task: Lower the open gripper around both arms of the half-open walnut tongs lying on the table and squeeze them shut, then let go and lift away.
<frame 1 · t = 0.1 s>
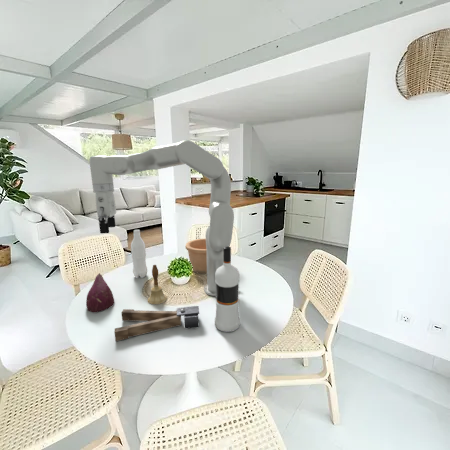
hand: (108, 230, 104), 31 cm above the table, tool pointing down, fingers open, 9 cm apart
hinge block: (183, 322, 94), on the table
hand bell: (157, 299, 110), on the table
vodka: (227, 325, 92), on the table
tong arm 1: (149, 327, 88), point 2 cm above the table, hinge at 12.0°
water bottle: (140, 276, 133), on the table
tong arm 2: (151, 315, 95), point 2 cm above the table, hinge at -12.0°
vegetable: (100, 306, 106), on the table
pottery: (205, 268, 144), on the table
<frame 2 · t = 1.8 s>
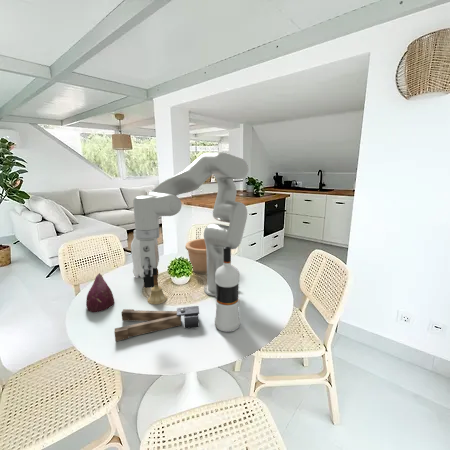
hand: (151, 280, 88), 18 cm above the table, tool pointing down, fingers open, 9 cm apart
nothing on the table moved.
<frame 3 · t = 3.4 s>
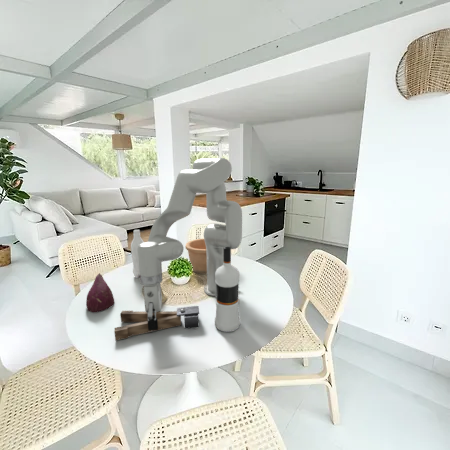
hand: (154, 322, 91), 2 cm above the table, tool pointing down, fingers open, 7 cm apart
tong arm 1: (149, 326, 88), point 2 cm above the table, hinge at 10.9°, touching gripper
tong arm 2: (151, 316, 94), point 2 cm above the table, hinge at -9.6°, touching gripper
everything else where it was.
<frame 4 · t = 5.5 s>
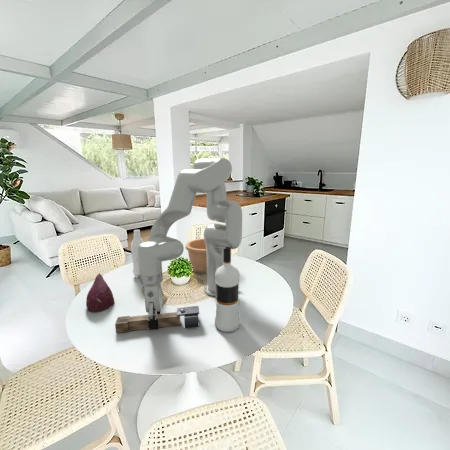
hand: (154, 321, 92), 2 cm above the table, tool pointing down, fingers open, 7 cm apart
tong arm 1: (148, 323, 90), point 2 cm above the table, hinge at 0.3°
tong arm 2: (149, 319, 92), point 2 cm above the table, hinge at 0.4°
everything else where it was.
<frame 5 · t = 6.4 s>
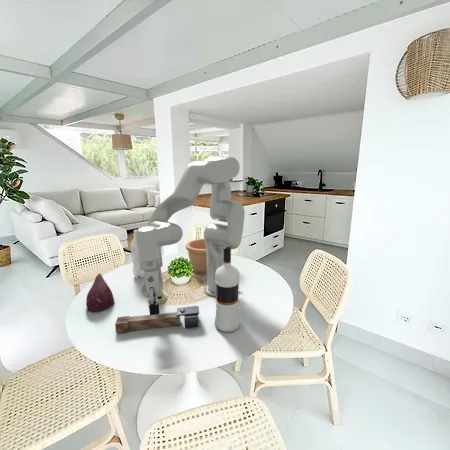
hand: (156, 306, 91), 7 cm above the table, tool pointing down, fingers open, 9 cm apart
nothing on the table moved.
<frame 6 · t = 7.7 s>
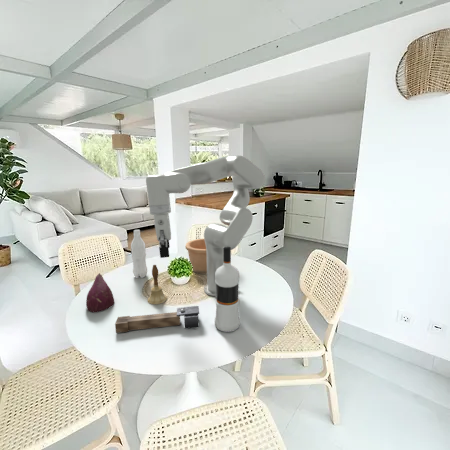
hand: (165, 252, 97), 24 cm above the table, tool pointing down, fingers open, 9 cm apart
nothing on the table moved.
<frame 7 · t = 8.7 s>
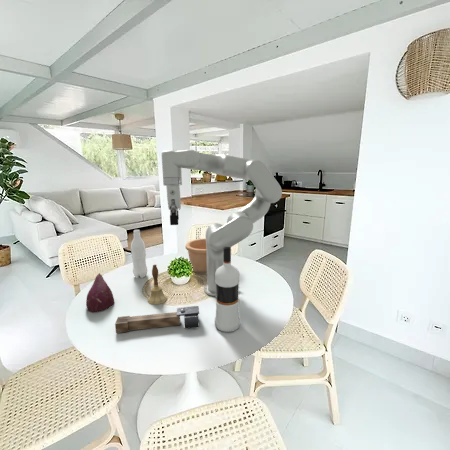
hand: (174, 222, 108), 33 cm above the table, tool pointing down, fingers open, 9 cm apart
nothing on the table moved.
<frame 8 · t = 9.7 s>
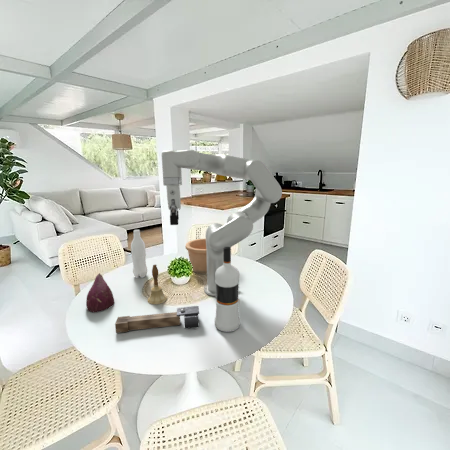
hand: (174, 222, 108), 33 cm above the table, tool pointing down, fingers open, 9 cm apart
nothing on the table moved.
at the end: tong arm 1 at +0° (first picture: +12°); tong arm 2 at +0° (first picture: -12°) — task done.
